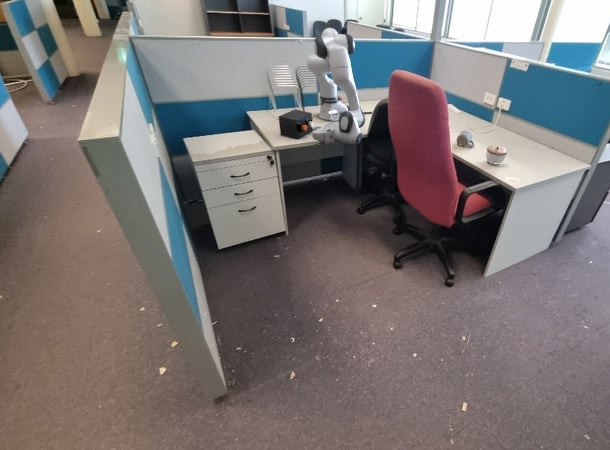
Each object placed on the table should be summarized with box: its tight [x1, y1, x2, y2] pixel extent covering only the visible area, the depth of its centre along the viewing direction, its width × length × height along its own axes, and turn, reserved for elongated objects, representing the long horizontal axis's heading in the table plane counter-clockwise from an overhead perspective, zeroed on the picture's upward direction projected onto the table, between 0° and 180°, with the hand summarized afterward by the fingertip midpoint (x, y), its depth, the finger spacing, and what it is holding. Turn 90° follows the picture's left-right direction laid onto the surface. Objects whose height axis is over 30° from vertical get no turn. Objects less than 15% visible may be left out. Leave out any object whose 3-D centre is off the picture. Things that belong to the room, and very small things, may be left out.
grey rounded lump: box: [456, 130, 475, 148], centre depth 200 cm, size 11×8×8 cm
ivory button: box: [308, 121, 315, 128], centre depth 197 cm, size 3×2×3 cm, turn 157°
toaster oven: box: [277, 109, 314, 140], centre depth 197 cm, size 18×13×11 cm
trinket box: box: [485, 145, 508, 166], centre depth 181 cm, size 11×11×9 cm
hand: (314, 128), depth 192 cm, fingers closed
